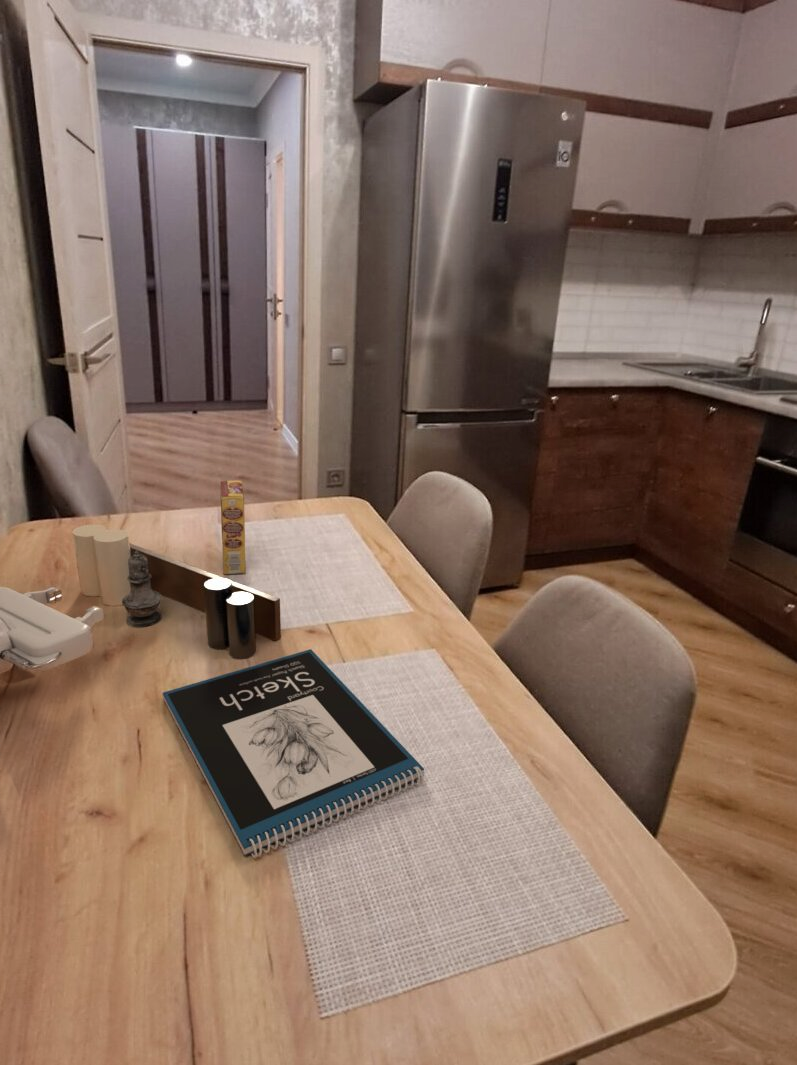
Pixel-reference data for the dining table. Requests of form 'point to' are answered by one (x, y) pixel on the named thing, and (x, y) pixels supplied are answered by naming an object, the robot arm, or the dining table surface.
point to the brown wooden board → (189, 590)
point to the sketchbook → (287, 748)
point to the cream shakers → (103, 562)
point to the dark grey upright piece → (141, 594)
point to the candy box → (233, 527)
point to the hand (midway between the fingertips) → (79, 602)
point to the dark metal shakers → (230, 618)
